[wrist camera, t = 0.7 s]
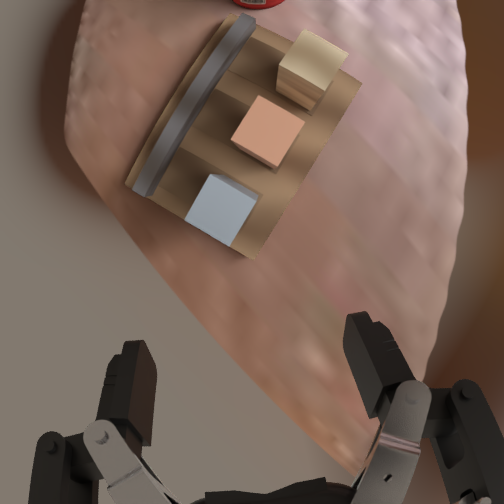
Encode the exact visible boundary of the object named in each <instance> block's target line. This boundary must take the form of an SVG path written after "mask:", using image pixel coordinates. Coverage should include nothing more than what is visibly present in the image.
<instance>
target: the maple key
mask: <svg viewBox="0 0 504 504" xmlns="http://www.w3.org/2000/svg"><path fill="white" fill-rule="evenodd" d="M347 56H348V53H346V52H345V51H343V50H341V49H340V48H338V47H336V46H335V45H333V44H331V43H329V42H328V41H326V40H324V39H322V38H321V37H319V36H317V35H315V34H313V33H311V32H310V31H308V30H306V29H304V30H303V31H302V32H301V34H300V35H299V36H298V38H297V39H296V41H295V42H294V44H293V45H292V46H291V48H290V49H289V51H288V52H287V54H286V55H285V56H284V58H283V59H282V61H281V62H280V64H279V68H278V75H277V83H276V91H277V92H279V93H280V94H282V95H284V96H286V97H287V98H289V99H291V100H293V101H294V102H296V103H298V104H299V105H301V106H303V107H304V108H306V109H308V110H309V111H311V110H312V108H313V107H314V105H315V104H316V103H317V101H318V100H319V98H320V97H321V96H322V94H323V93H324V91H325V90H326V88H327V87H328V85H329V84H330V82H331V80H332V79H333V77H334V76H335V74H336V73H337V71H338V70H339V68H340V66H341V65H342V63H343V62H344V60H345V59H346V57H347Z"/></svg>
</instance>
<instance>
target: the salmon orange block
mask: <svg viewBox="0 0 504 504" xmlns="http://www.w3.org/2000/svg"><path fill="white" fill-rule="evenodd" d="M304 123H305V122H304V121H303V120H301V119H300V118H298V117H296V116H295V115H293V114H291V113H289V112H288V111H286V110H284V109H283V108H281V107H279V106H277V105H276V104H274V103H272V102H270V101H268V100H267V99H265V98H263V97H261V96H259V95H258V97H257V98H256V100H255V101H254V103H253V104H252V106H251V108H250V109H249V111H248V112H247V114H246V115H245V117H244V119H243V120H242V122H241V123H240V125H239V127H238V128H237V130H236V132H235V133H234V135H233V136H232V138H231V140H232V141H233V143H234V144H235V145H236V146H237V147H238V148H239V149H240V150H242V151H244V152H246V153H247V154H249V155H251V156H253V157H254V158H256V159H258V160H259V161H261V162H263V163H265V164H266V165H268V166H270V167H271V168H273V169H275V168H277V167H278V165H279V164H280V162H281V160H282V159H283V157H284V155H285V154H286V152H287V151H288V149H289V147H290V146H291V144H292V143H293V141H294V139H295V138H296V136H297V134H298V133H299V131H300V130H301V128H302V126H303V125H304Z"/></svg>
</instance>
